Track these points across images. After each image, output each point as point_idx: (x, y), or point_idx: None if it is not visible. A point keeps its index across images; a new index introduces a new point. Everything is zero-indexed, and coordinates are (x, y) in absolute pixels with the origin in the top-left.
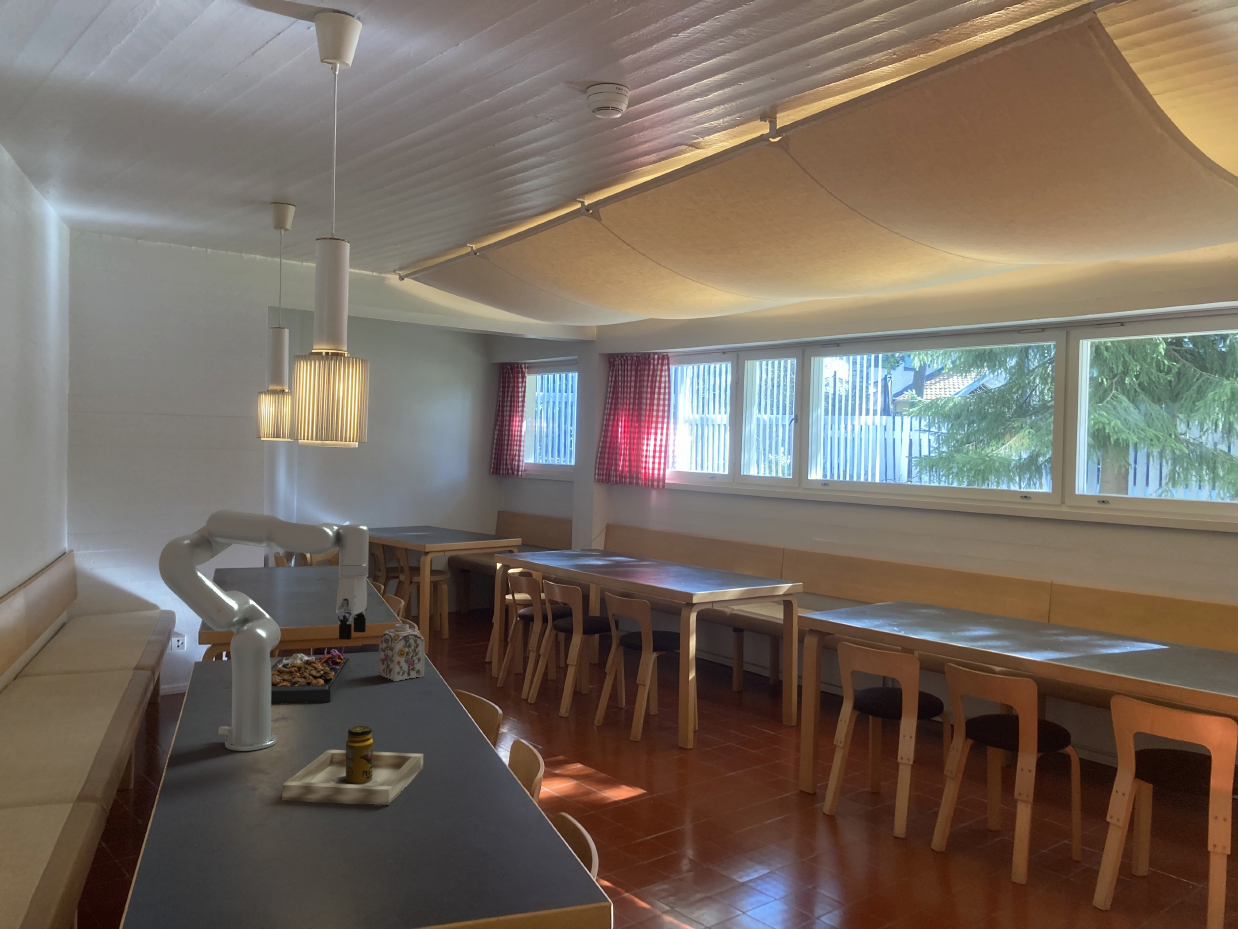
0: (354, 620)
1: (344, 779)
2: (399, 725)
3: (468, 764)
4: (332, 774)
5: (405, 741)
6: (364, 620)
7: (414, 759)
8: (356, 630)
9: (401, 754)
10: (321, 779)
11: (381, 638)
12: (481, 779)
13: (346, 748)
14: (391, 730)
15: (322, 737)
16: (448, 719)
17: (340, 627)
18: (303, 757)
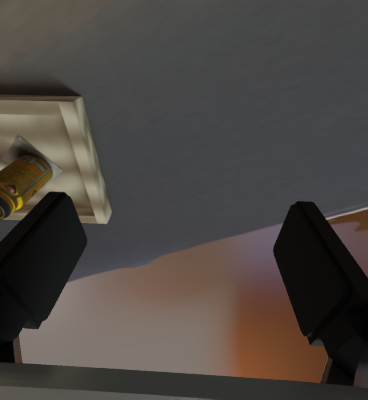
0: (329, 274)
1: (26, 152)
2: (287, 143)
3: (136, 243)
4: (34, 129)
5: (203, 173)
6: (298, 321)
7: (85, 220)
8: (291, 222)
9: (95, 205)
10: (11, 121)
11: None
12: (103, 256)
13: None
14: (259, 138)
15: (219, 10)
16: (307, 200)
17: (3, 254)
18: (94, 30)
